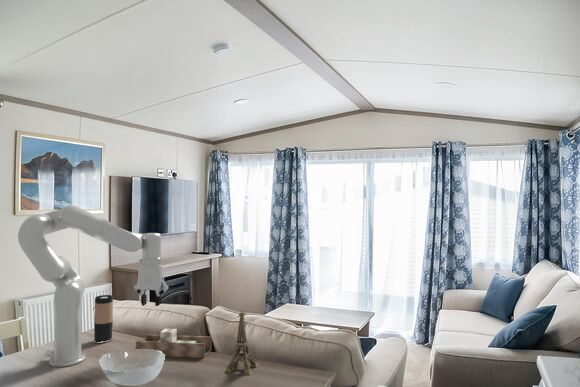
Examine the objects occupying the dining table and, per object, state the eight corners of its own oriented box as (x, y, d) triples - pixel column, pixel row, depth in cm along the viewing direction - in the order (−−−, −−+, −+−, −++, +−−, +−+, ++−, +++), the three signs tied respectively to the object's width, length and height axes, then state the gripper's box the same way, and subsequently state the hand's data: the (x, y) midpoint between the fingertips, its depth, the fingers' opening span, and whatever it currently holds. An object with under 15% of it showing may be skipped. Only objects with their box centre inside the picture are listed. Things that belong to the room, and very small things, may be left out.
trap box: (135, 355, 166) (135, 341, 167) (146, 347, 176) (146, 334, 176) (204, 357, 163) (204, 344, 164) (211, 349, 173) (211, 336, 173)
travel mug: (90, 343, 181) (91, 298, 182) (100, 337, 189) (101, 294, 190) (105, 344, 180) (106, 298, 181) (115, 338, 188) (116, 295, 189)
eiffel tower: (259, 364, 156) (259, 299, 157) (250, 375, 146) (250, 305, 147) (233, 362, 159) (233, 298, 160) (223, 373, 148) (223, 304, 149)
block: (160, 344, 168) (160, 332, 168) (165, 340, 173) (165, 328, 173) (171, 344, 167) (172, 332, 168) (176, 340, 172) (176, 328, 172)
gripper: (127, 263, 170) (127, 306, 169) (167, 263, 168) (166, 307, 167) (136, 260, 177) (135, 302, 176) (174, 261, 175) (173, 303, 174)
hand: (150, 304), depth 172 cm, fingers open, 5 cm apart
